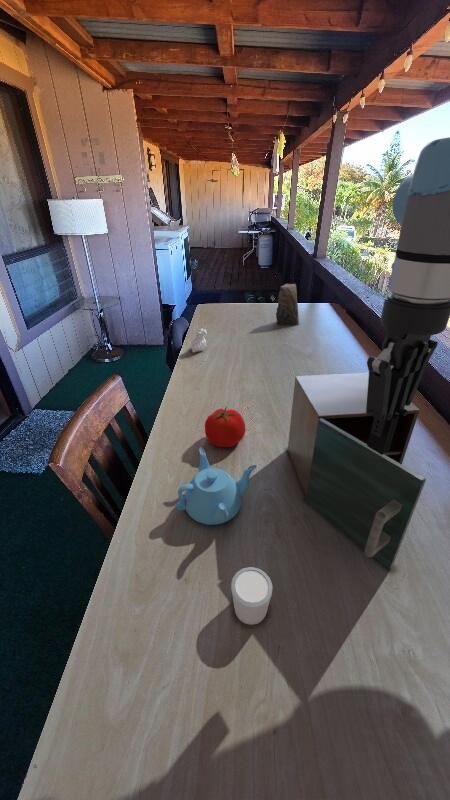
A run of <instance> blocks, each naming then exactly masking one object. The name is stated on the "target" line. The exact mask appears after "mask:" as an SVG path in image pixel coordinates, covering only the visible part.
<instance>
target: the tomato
mask: <svg viewBox="0 0 450 800" xmlns="http://www.w3.org/2000/svg"><path fill="white" fill-rule="evenodd" d="M227 407H228V405H226V406H225V408H217V409H216V410H214V412H212V414H210V415H209V416H207V418H206V419H205V422H204V434H205V436H206V438H207V440H208V441H209V443H211V445H214V446H215V447H219V448H231V447H234V446H235V445H237V444H238V443H239V442H241V441H242V440H243V438H244V436H245V434H246V423H245V420H244V417H243V416H242V414H241V413H240V412H238V410H236V409H231V408H230V409H227Z"/></svg>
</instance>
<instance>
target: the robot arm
mask: <svg viewBox="0 0 450 800" xmlns="http://www.w3.org/2000/svg"><path fill="white" fill-rule="evenodd" d="M414 166H415V167H414V169H413V173H412V174H410V175H408V176H407V177H406V178H405V179H404V180H403V181H402V182H401V183H400V184H399V186H398V187H397V189H396V191H395V195H394V196H393V201H392V214H393V217H394V220H396V222H397V223H398V224H399V225H400V231H399V237H398V241H397V246H396V250H395V255H394V256H395V258H394V260H393V262H392V263H391V267H390V269H391V272H390V273H391V274H390V278H389V281H388V285H387V290H388V291H389V293H388V294H387V295H386V296H385V297H384V303H383V306H382V311H381V315H380V323H381V325H382V326H383V327H384V328H385V329H386V331H387V333H386V336H385V338H384V340H383V341H382V342H383V343H382V346H381V350H382V351H381V352H380V353H379V355H378V356H377V357H375V356H372V355H370V356H369V357H368V358H367V361H366V366H367V369H368V372H369V379H368V393H367V406H366V413H368V414H370V415H372V416H374V420H373V424H372V428H371V432H370V436H369V440H368V444H367V446H368V447H369V448H371V449H373V450H375V451H376V452H378V453H380V454H381V455H383V454H385V452H388V451H389V448H390V445H391V442H392V438H393V435H394V432H395V428H396V425H397V421H398V418H399V415H398V414H401V415H403V416H406V415H407V414H408V412H409V411H408V410H405V409H404V407H405V405H406V406H409V405H410V404H411V402H412V401H413V399H414V397H415V395H416V392H417V390H418V388H419V385H420V383H421V380H422V378H423V375H424V373H425V371H426V368H427V367H428V364H429V361H430V359H431V357H432V355H433V354H434V352H435V350H436V348H437V347H438V345H439V342H438V341H437V340H433V339H431V338H432V336H435V335H439V334H441V333H443V332H444V331H445V330H446V329H447V325H448V323H449V320H450V137H442V138H437V139H434V140H431V141H429V142H428V143H427V144H425V145H424V146H423V147H422V149H420V151H419V155H418V157H417V161H416V163H415V165H414ZM412 403H413V402H412Z"/></svg>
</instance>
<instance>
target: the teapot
mask: <svg viewBox="0 0 450 800" xmlns="http://www.w3.org/2000/svg"><path fill="white" fill-rule="evenodd" d="M198 453H199V459H200V460H199V466H198V472H197V473H196V475H194V476H193V478H192V479H191V480H190V482H189V483H185V484H182V485H181V486H180V487H179V488H178V491H177V496H178V498H179V501H177V502H176V505H175V506H176V509H177V510H178V511H186V513H187V514H188V516H189V517H190V518H191V519H193V520H194V521H195V522H198V523H200V524H203V525H208V526H215V525H221V524H224V523H226V522H228V521H230V520H231V519H233V518H234V517H235V516H236V515H237V514H238V512H239V511H240V510H241V505H242V497H243V496H244V495H245V494H246V492H247V491H248V490H249V489H248V488H249V483H250V477H251V474H252V473H253V471H255V469H256V468H257V465H256V464H252V465H250V466H248V467H247V468H245V470H244V471H243V473H242V476H241V477H240V479H239V480H238V481H235V480H234V478H233V477H232V476H231V475H230V474H229V473H228V472H226V471H225V470H224V469H222V468H218V467H211V466H210V464H209V461H208V458H207V453H206V451H205V449H204V447H199V449H198ZM183 492H184V496H183Z"/></svg>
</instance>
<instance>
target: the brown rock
mask: <svg viewBox="0 0 450 800" xmlns="http://www.w3.org/2000/svg"><path fill="white" fill-rule="evenodd" d="M297 289H298V287H297V284H296V283H284V284H283V285H280V287H279V291H278V295H277V308H276V313H275V318H276V322H277V325H278V326H288V325H290V326H291V325H293V326H294V325H299V323H300V317H299V305H298V304H299V303H298V290H297Z"/></svg>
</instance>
